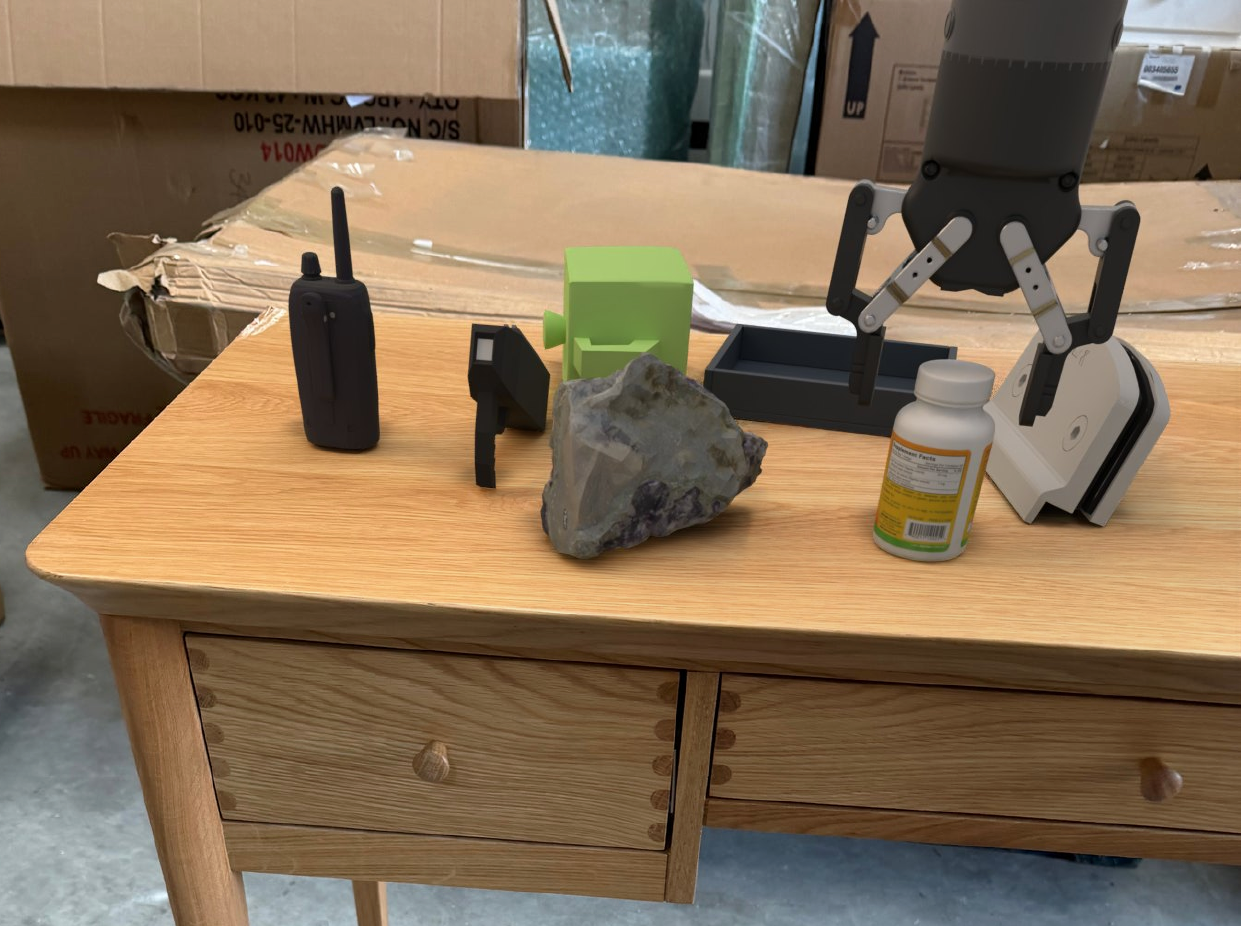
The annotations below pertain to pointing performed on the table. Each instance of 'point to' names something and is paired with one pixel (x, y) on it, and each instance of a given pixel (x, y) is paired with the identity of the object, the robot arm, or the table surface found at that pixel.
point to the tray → (813, 378)
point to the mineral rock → (641, 458)
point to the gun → (503, 390)
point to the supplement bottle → (936, 463)
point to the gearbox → (621, 309)
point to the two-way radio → (335, 347)
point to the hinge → (1078, 431)
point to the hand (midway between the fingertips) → (943, 412)
